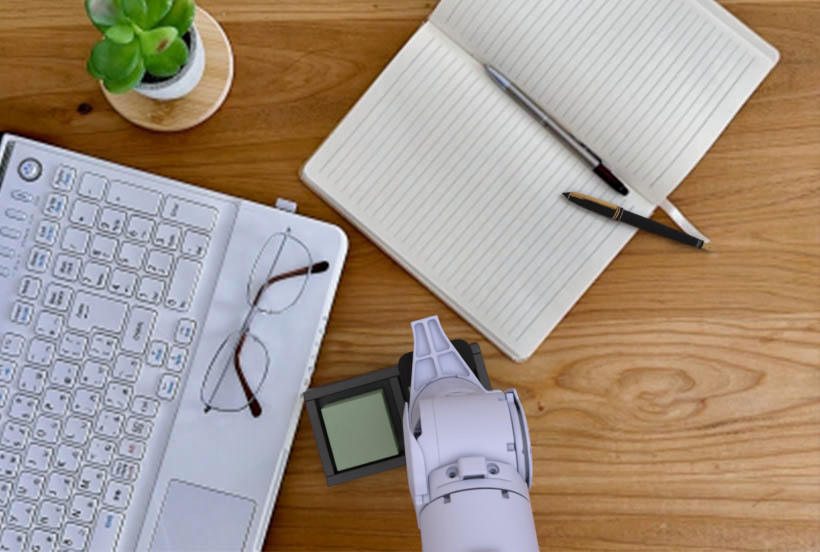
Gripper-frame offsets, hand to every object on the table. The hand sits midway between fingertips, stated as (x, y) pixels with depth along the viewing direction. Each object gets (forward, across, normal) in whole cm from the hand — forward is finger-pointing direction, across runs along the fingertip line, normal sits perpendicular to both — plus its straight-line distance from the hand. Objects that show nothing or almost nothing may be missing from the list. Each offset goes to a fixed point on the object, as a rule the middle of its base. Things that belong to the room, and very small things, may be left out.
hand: (445, 404), depth 67 cm
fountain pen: (+4, +10, -20) cm, 23 cm away
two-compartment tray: (+4, 0, +4) cm, 5 cm away
